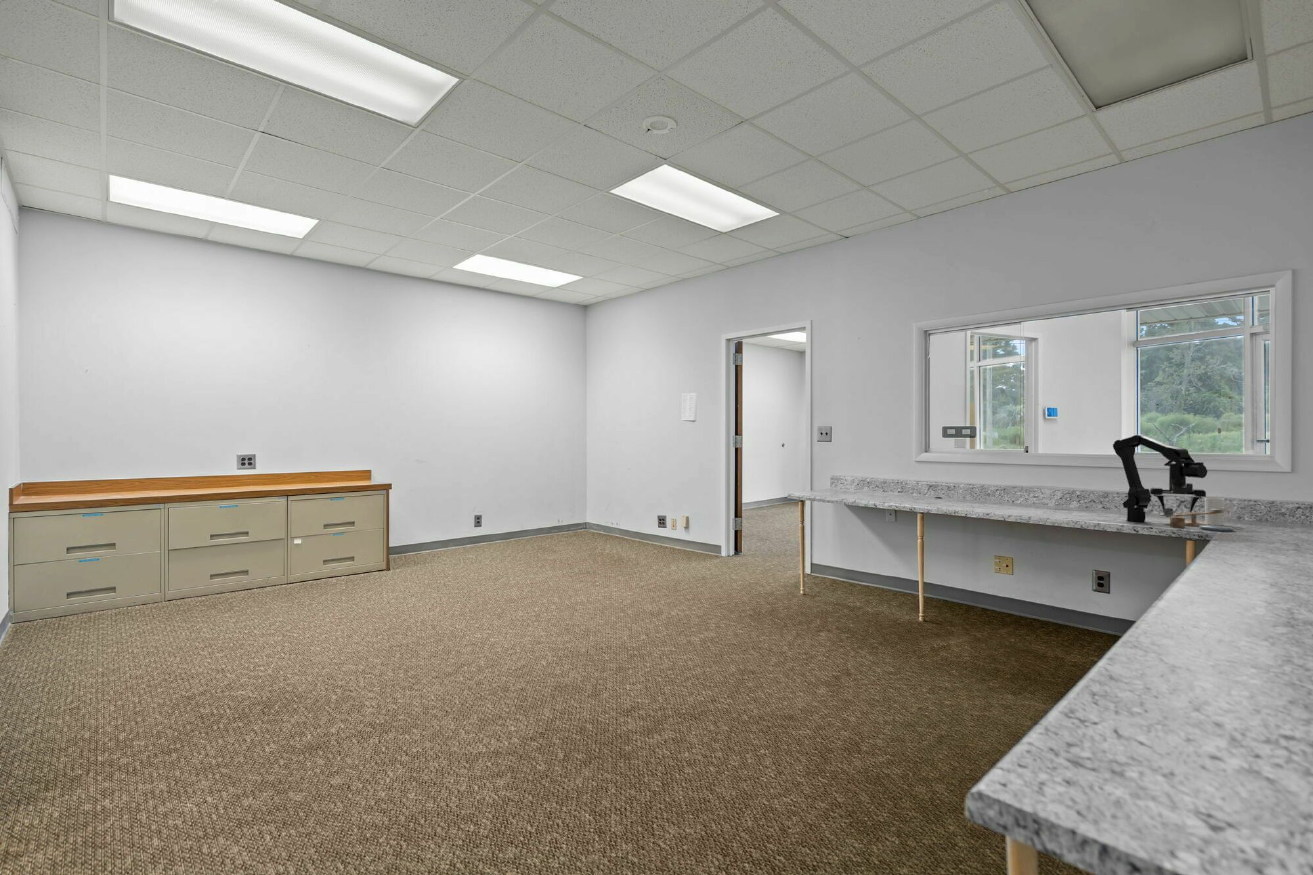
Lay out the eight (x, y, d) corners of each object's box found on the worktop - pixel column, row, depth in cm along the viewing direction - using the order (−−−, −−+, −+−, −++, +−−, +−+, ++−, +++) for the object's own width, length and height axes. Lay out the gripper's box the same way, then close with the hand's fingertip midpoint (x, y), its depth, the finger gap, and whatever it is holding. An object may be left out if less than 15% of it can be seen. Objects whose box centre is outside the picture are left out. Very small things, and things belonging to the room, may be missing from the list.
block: (1171, 527, 280) (1171, 517, 280) (1170, 526, 284) (1170, 516, 284) (1184, 528, 278) (1184, 518, 278) (1183, 527, 281) (1183, 516, 281)
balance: (1160, 523, 290) (1160, 507, 290) (1159, 522, 295) (1159, 505, 295) (1230, 528, 277) (1230, 510, 277) (1227, 526, 282) (1227, 509, 282)
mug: (1205, 524, 288) (1205, 498, 288) (1203, 523, 293) (1203, 497, 293) (1235, 526, 282) (1235, 499, 282) (1232, 524, 287) (1233, 498, 287)
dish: (1202, 530, 271) (1202, 527, 271) (1197, 527, 280) (1197, 524, 280) (1236, 532, 265) (1236, 529, 265) (1230, 529, 274) (1230, 526, 274)
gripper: (1153, 476, 279) (1152, 511, 279) (1208, 478, 269) (1208, 515, 269) (1150, 475, 288) (1149, 509, 289) (1203, 477, 278) (1203, 512, 278)
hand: (1177, 511), depth 281 cm, fingers open, 9 cm apart
